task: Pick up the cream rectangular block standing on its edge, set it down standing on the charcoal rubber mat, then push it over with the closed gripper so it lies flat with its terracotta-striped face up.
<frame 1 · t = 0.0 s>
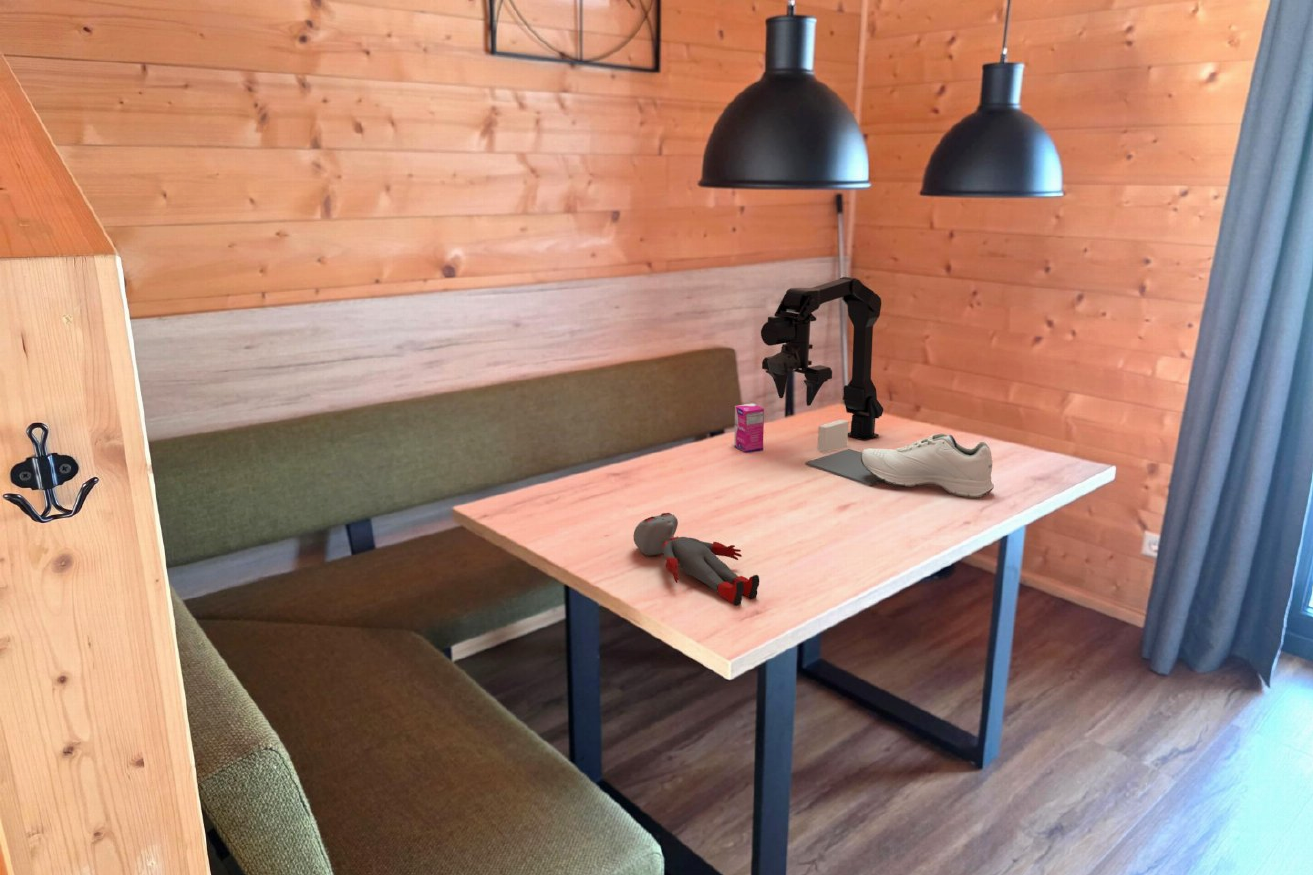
hand: (794, 401, 230), 15 cm above the table, tool pointing down, fingers open, 9 cm apart
supplement box: (748, 449, 241), on the table
charcoal mat: (858, 467, 226), on the table
toy: (692, 574, 170), on the table
running shoe: (924, 485, 214), on the table, touching charcoal mat
cream rectangular block: (832, 449, 241), on the table
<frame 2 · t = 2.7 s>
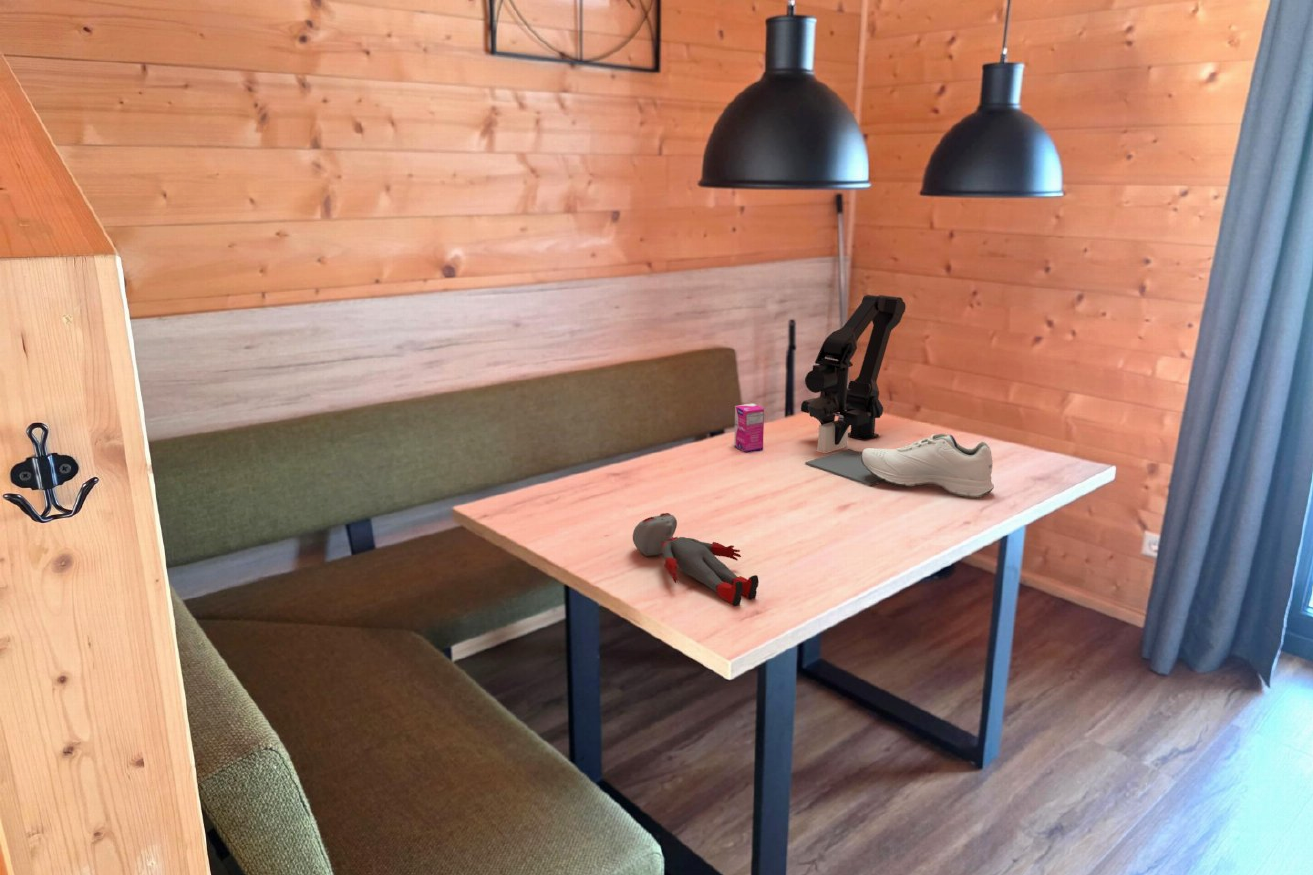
hand: (832, 443, 240), 2 cm above the table, tool pointing down, fingers closed on cream rectangular block, 2 cm apart
cream rectangular block: (832, 448, 241), on the table, touching gripper
everything else where it was.
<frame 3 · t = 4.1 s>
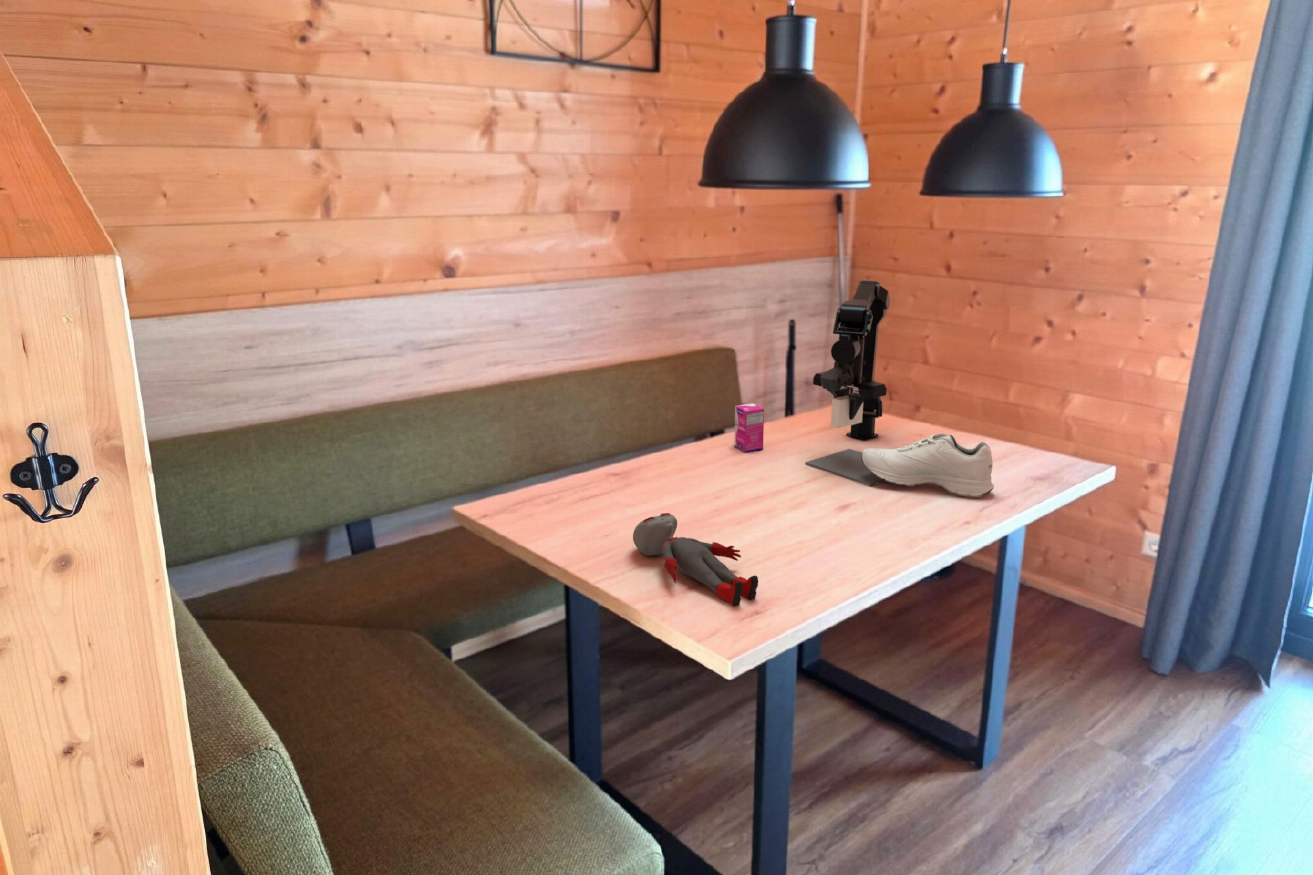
hand: (846, 418, 226), 12 cm above the table, tool pointing down, fingers closed on cream rectangular block, 2 cm apart
cream rectangular block: (846, 424, 226), point 10 cm above the table, touching gripper
everything else where it was.
when the fingers open (3 cm above the table, at t = 6.0 s): cream rectangular block stays where it is, resting on charcoal mat.
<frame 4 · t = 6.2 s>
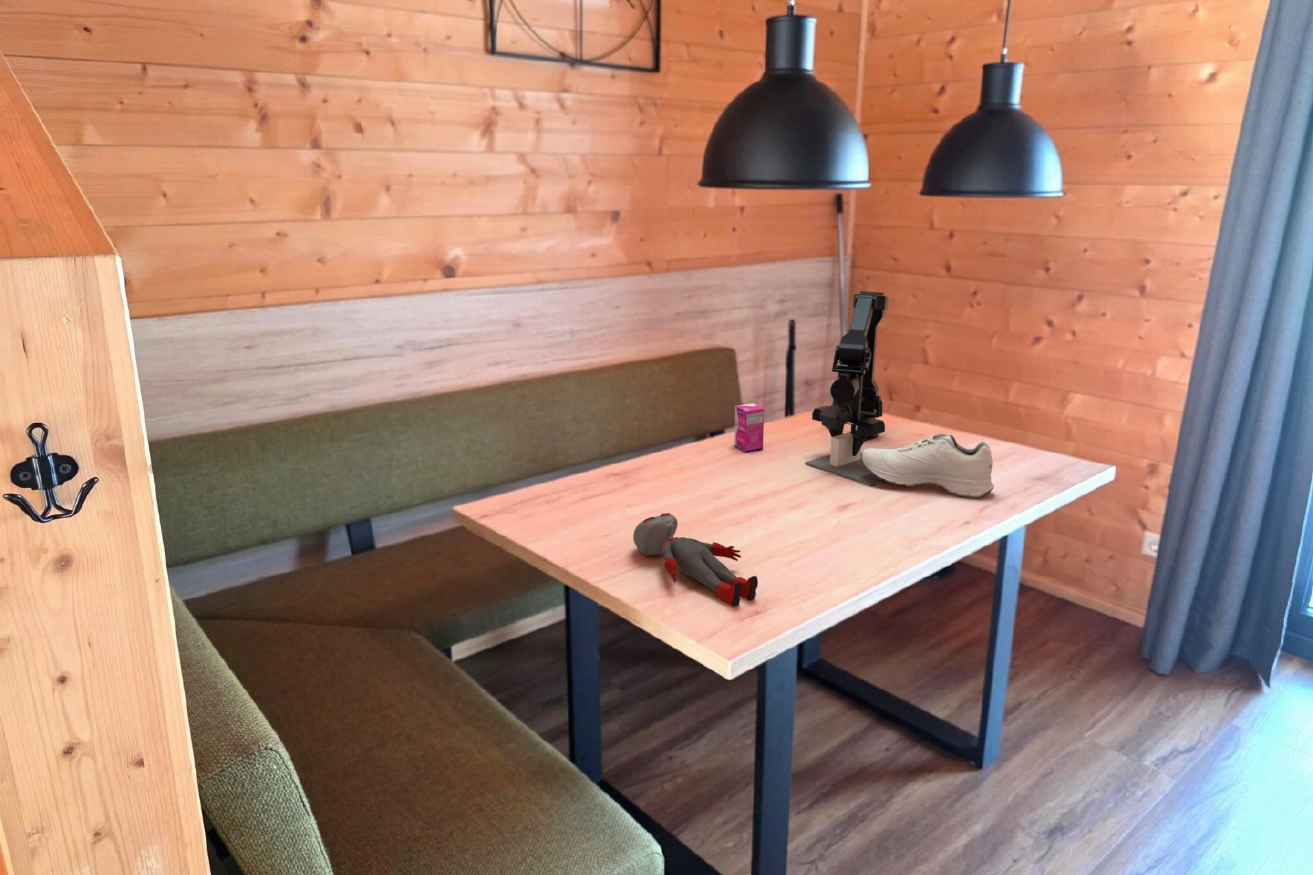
hand: (845, 453, 228), 3 cm above the table, tool pointing down, fingers open, 5 cm apart
cream rectangular block: (845, 461, 229), point 1 cm above the table, touching charcoal mat
everything else where it was.
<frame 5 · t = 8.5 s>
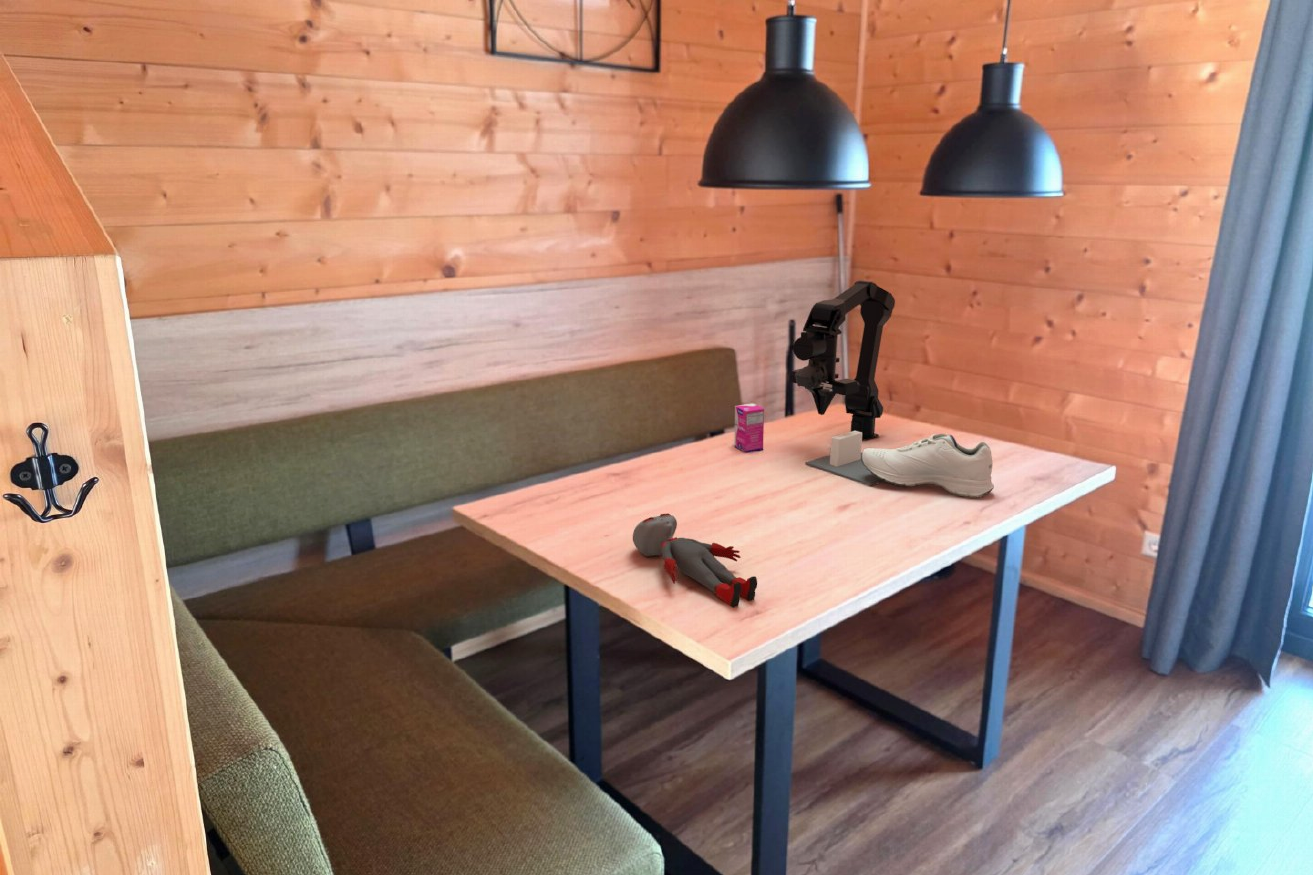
hand: (821, 414, 232), 11 cm above the table, tool pointing down, fingers closed
nothing on the table moved.
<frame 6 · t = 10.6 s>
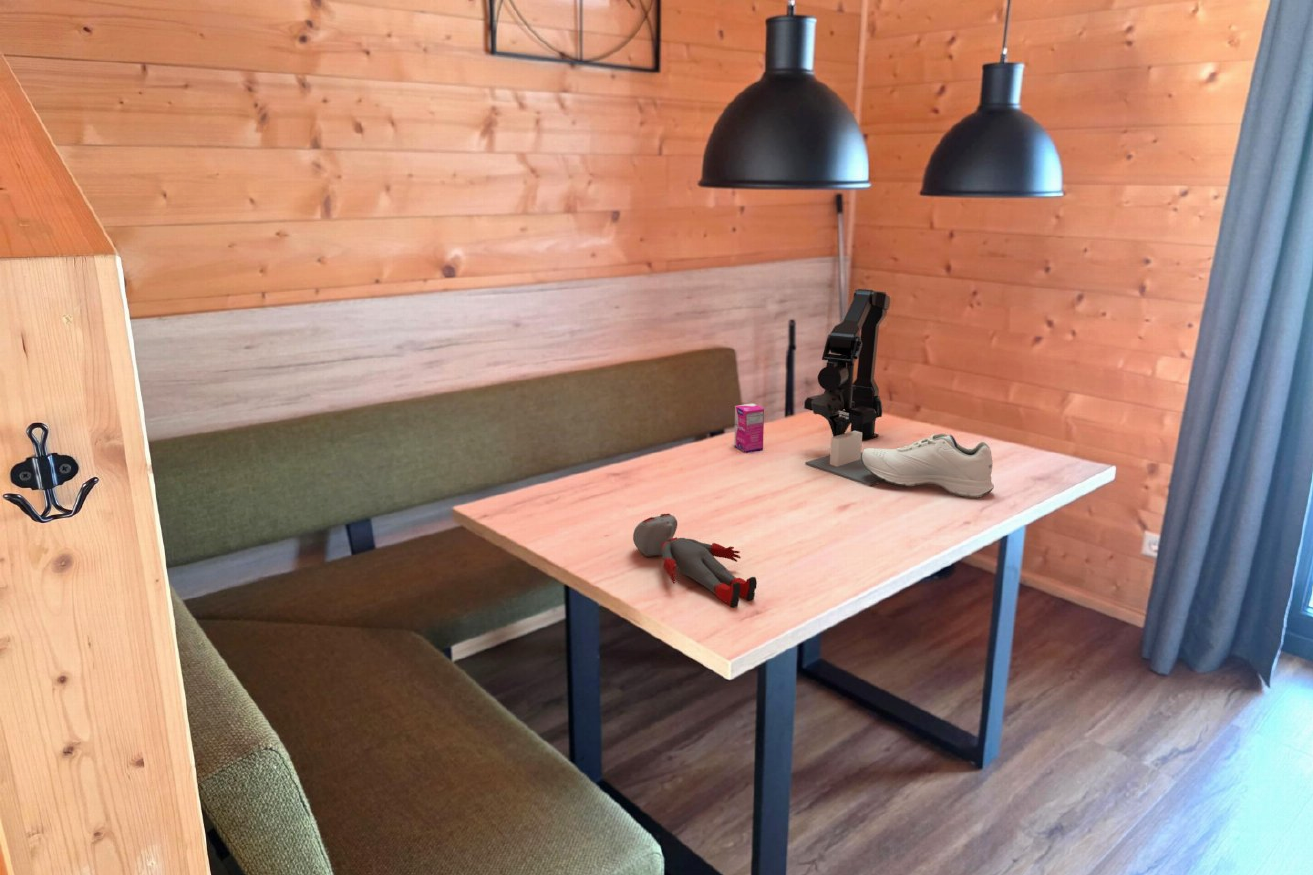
hand: (837, 442, 230), 5 cm above the table, tool pointing down, fingers closed
cream rectangular block: (845, 461, 229), point 1 cm above the table, touching charcoal mat, gripper
everything else where it was.
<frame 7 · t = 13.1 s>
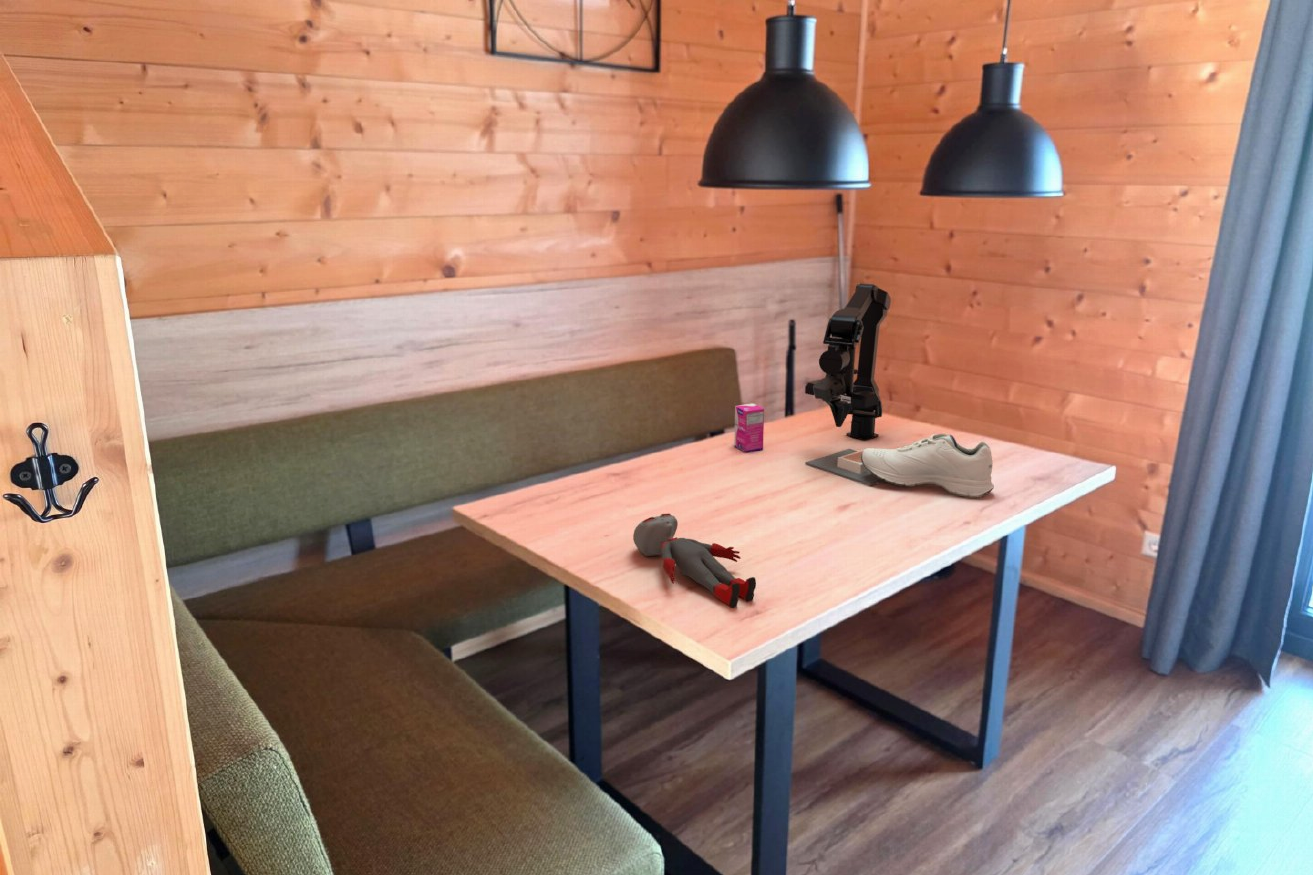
hand: (838, 426, 228), 9 cm above the table, tool pointing down, fingers closed
cream rectangular block: (849, 458, 228), point 2 cm above the table, tilted 90°, touching charcoal mat
everything else where it was.
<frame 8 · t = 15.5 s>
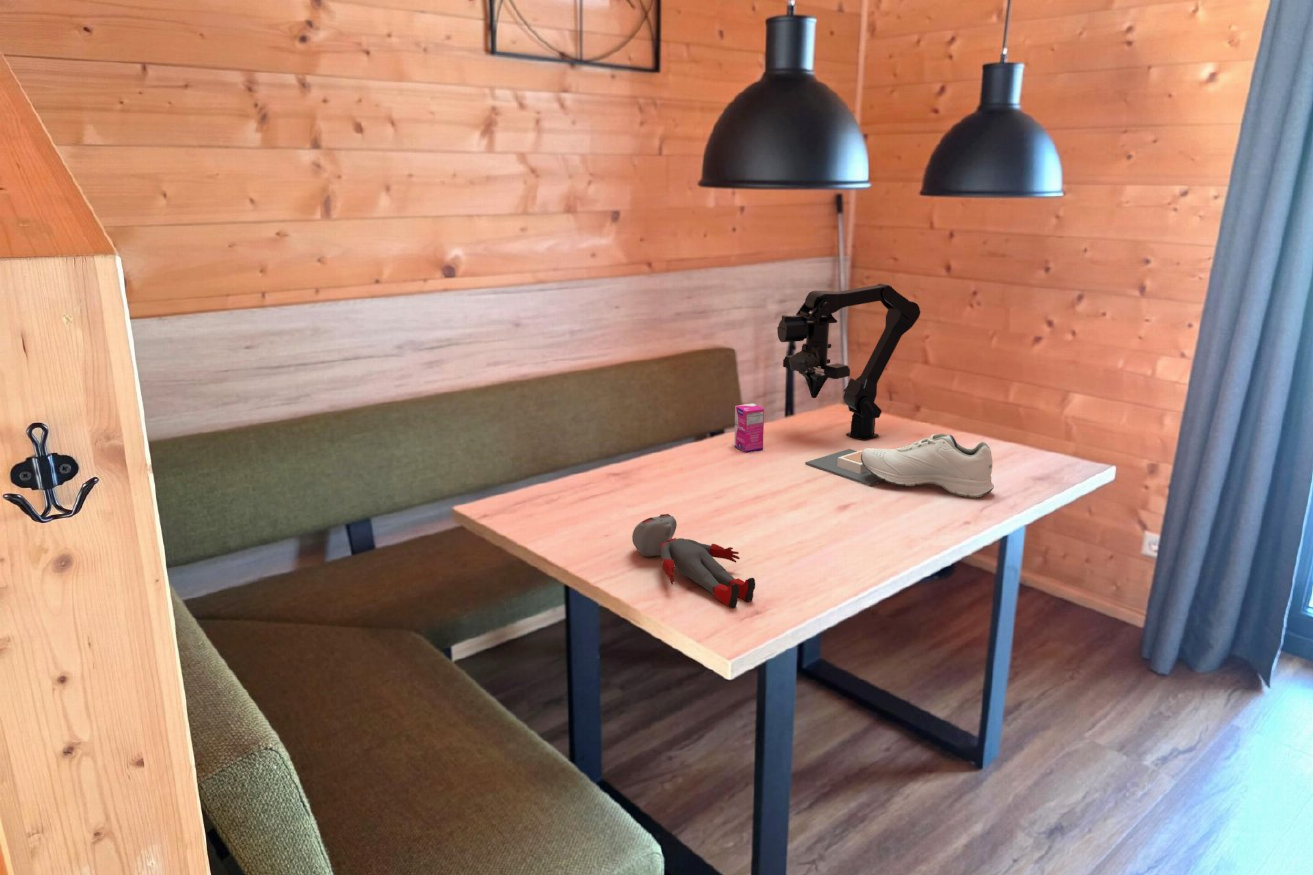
hand: (814, 397, 244), 12 cm above the table, tool pointing down, fingers closed
nothing on the table moved.
at the end: cream rectangular block tilted 90°; cream rectangular block inside the target area (2.7 cm from its centre), point 1.8 cm above the table; the gripper is holding nothing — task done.
